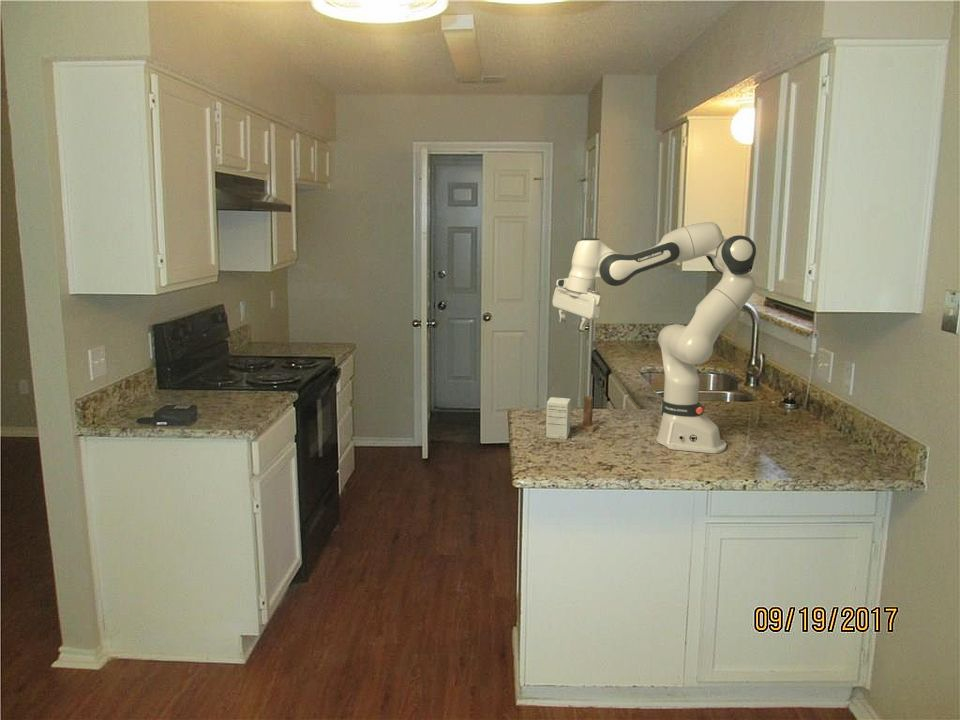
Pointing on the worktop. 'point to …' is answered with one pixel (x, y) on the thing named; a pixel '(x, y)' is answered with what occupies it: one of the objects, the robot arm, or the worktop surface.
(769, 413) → the worktop surface
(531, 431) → the worktop surface
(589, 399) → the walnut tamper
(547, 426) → the supplement box
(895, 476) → the worktop surface
